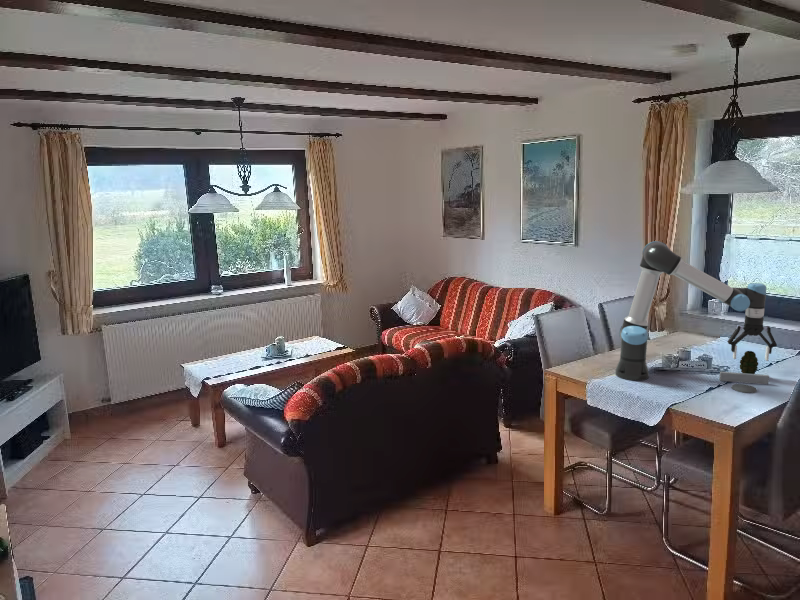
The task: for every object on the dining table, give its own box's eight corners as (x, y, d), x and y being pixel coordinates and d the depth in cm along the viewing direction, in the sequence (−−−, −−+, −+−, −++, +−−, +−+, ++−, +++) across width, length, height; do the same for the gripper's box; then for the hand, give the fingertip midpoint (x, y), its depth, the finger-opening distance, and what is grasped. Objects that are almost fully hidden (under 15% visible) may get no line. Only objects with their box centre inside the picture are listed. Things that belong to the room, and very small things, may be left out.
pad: (734, 392, 260) (734, 390, 260) (729, 384, 270) (729, 383, 269) (759, 394, 257) (759, 392, 257) (753, 386, 267) (753, 385, 266)
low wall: (719, 380, 274) (720, 372, 274) (719, 379, 276) (720, 371, 275) (768, 384, 268) (769, 376, 268) (767, 383, 270) (768, 375, 269)
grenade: (759, 378, 276) (762, 354, 273) (741, 378, 277) (744, 353, 275) (753, 373, 283) (756, 349, 281) (735, 372, 285) (738, 349, 282)
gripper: (726, 317, 274) (722, 359, 279) (787, 319, 267) (782, 363, 271) (723, 313, 281) (719, 355, 286) (782, 315, 274) (777, 358, 278)
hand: (750, 359), depth 278 cm, fingers open, 13 cm apart
